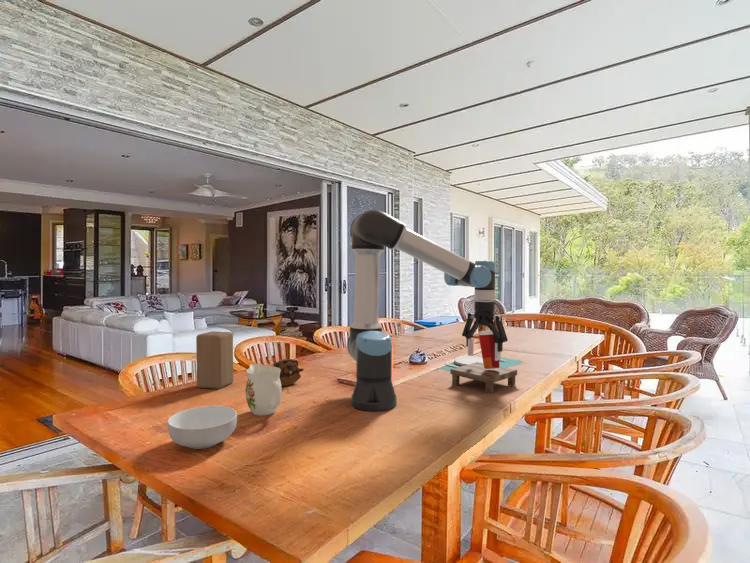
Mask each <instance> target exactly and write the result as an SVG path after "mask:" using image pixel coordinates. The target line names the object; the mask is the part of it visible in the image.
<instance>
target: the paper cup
mask: <svg viewBox="0 0 750 563" xmlns="http://www.w3.org/2000/svg"><path fill="white" fill-rule="evenodd" d="M477 336H478V339H479V345H480V350H481V356H482V358H483V364H484V368H485V369H494V368H499V360H498V361H495V343H497V341H496V339H495V338H494V336H493V332H492V331H491V330H490V329H489V330H480V331H478V334H477Z"/></svg>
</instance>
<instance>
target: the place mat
mask: <svg viewBox="0 0 750 563" xmlns="http://www.w3.org/2000/svg"><path fill="white" fill-rule="evenodd" d="M454 358H455V359H454V362H453V363H450V364H445V365H446V366H443V367H441V368H439V370H442V371H446V372H450V369H452V368H456V367H460V366H464V365H468V364H472V363H476V362H479V363H483V358H482V355H480V354H479V355H478V354H477V355H470V356H468V355H464V356H457V357H454ZM519 362H522V361H521V360H516V359H512V358H507V357H502V356H501V360H499V366H500V367H505V368H511V367H515V366H519V365H521V364H520V363H519Z"/></svg>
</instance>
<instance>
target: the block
mask: <svg viewBox="0 0 750 563" xmlns="http://www.w3.org/2000/svg"><path fill="white" fill-rule="evenodd" d="M195 341H196V342H195V343H196V344H195V346H196V350H195V351H196V386H197V388H204V389H213V390H214V389H215V390H220V389H222V388H224V387H226V386H228V385H231V384H232V383H234V334H233V332H232V331H215V330H212V331H207V332H203V333H199V334H197V335H196V340H195Z"/></svg>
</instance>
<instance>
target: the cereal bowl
mask: <svg viewBox="0 0 750 563" xmlns="http://www.w3.org/2000/svg"><path fill="white" fill-rule="evenodd" d="M237 424H238V413H237V410H236V409H234V408H233V407H229V406H226V405H206V406H197V407H192V408H188V409H184V410H181V411H179V412H176V413H175V414H173V415H171V416H170V417H169V418H168V419H167V424H166V425H167V432H168V435H169V437H170V439H171V440H172V441H173V442H174V443H175V444H177V445H179V446H182V447H187V448H190V449H196V450H200V449H207V448H212V447H214V446H216V445H218V444H219V443H221V442H223V441H225V440H226V439H228V438H229V437H230V436H231V435H232V434H233V432H234V431H235V429H236V427H237Z"/></svg>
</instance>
